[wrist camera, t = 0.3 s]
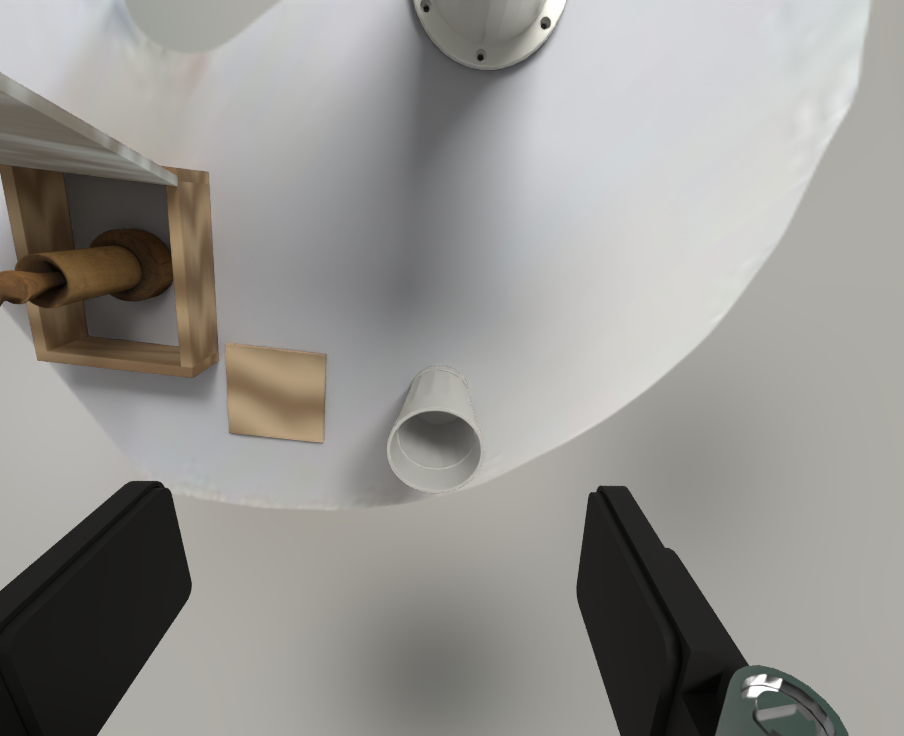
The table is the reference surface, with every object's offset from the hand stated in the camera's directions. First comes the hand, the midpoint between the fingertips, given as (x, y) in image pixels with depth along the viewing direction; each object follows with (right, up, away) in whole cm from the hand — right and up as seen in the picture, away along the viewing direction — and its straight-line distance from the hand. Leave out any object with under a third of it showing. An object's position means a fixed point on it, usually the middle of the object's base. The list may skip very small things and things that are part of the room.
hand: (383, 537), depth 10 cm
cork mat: (-17, +1, +38) cm, 42 cm away
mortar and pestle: (-28, +14, +34) cm, 46 cm away
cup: (0, +1, +38) cm, 38 cm away
